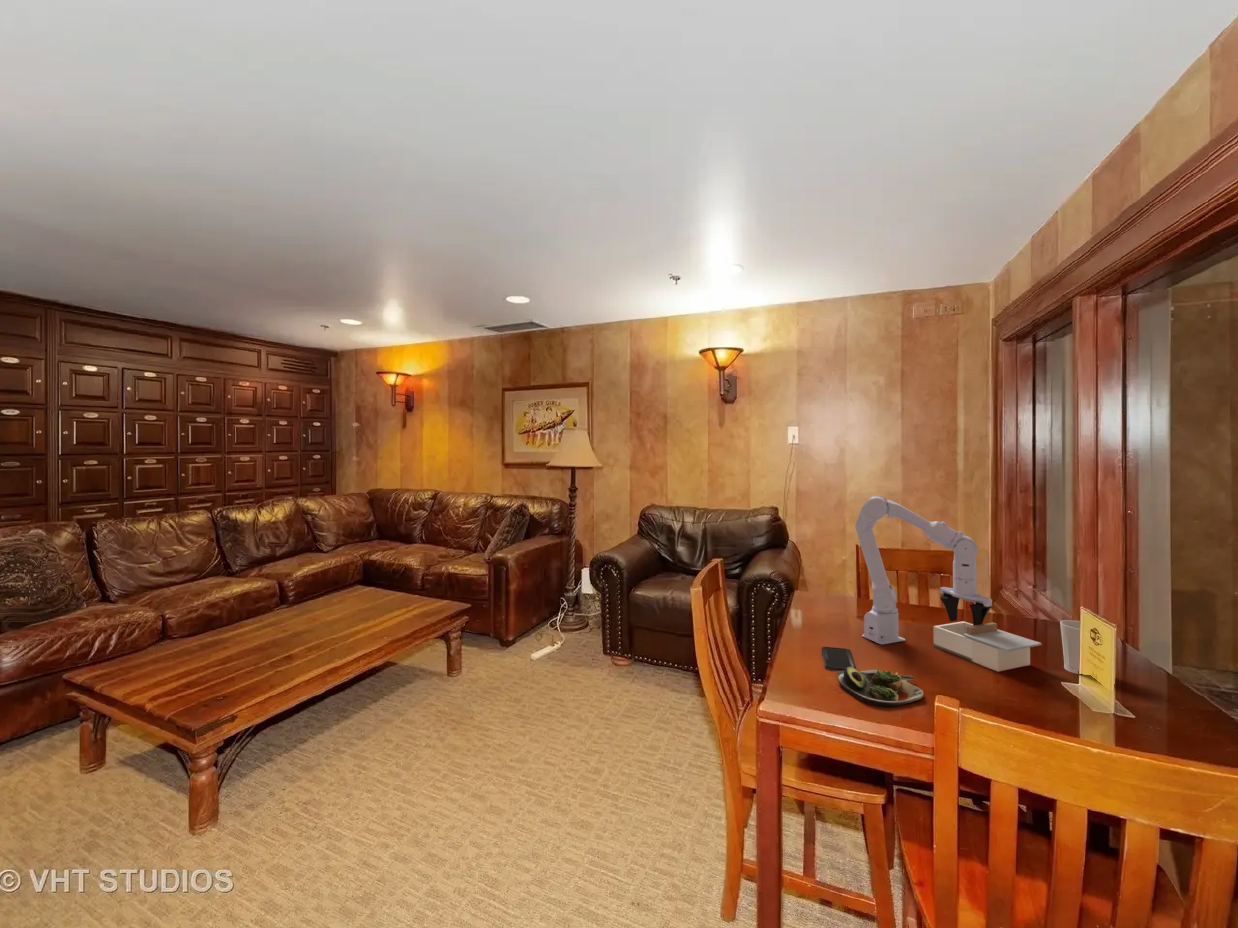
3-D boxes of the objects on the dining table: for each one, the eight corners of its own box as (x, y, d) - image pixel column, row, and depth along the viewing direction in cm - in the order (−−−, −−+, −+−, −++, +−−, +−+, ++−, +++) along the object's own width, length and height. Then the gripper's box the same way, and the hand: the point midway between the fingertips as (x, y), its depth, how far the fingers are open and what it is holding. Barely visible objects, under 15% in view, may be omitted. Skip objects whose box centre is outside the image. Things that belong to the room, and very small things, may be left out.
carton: (997, 671, 136) (997, 648, 136) (933, 646, 154) (933, 626, 154) (1030, 664, 140) (1030, 642, 140) (963, 640, 158) (963, 621, 158)
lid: (1007, 651, 133) (1007, 641, 133) (962, 635, 145) (962, 626, 145) (1041, 644, 137) (1041, 635, 137) (994, 629, 149) (994, 621, 149)
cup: (1093, 667, 137) (1093, 622, 137) (1106, 679, 130) (1106, 631, 130) (1055, 662, 141) (1055, 618, 141) (1066, 674, 134) (1066, 627, 133)
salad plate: (889, 670, 139) (889, 653, 139) (945, 701, 121) (945, 681, 121) (825, 679, 135) (825, 661, 134) (873, 712, 117) (873, 692, 117)
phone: (850, 648, 152) (856, 669, 137) (850, 652, 152) (856, 673, 137) (821, 646, 154) (824, 666, 140) (821, 650, 154) (824, 670, 140)
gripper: (999, 582, 145) (1000, 630, 145) (952, 571, 159) (952, 615, 159) (981, 584, 143) (981, 633, 143) (934, 573, 156) (934, 618, 157)
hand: (964, 624), depth 151 cm, fingers open, 7 cm apart
